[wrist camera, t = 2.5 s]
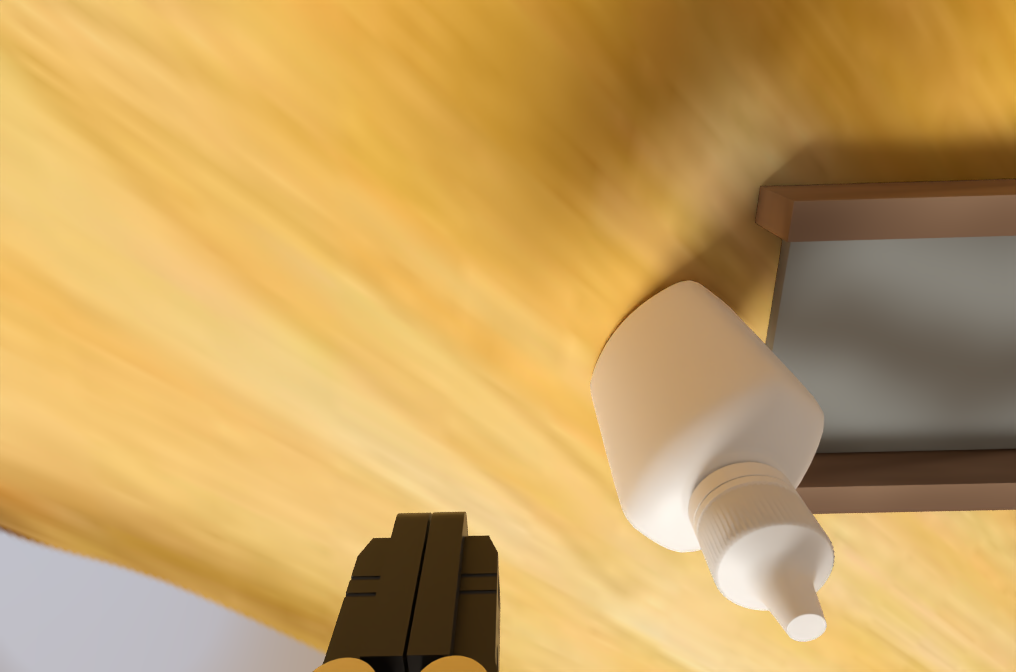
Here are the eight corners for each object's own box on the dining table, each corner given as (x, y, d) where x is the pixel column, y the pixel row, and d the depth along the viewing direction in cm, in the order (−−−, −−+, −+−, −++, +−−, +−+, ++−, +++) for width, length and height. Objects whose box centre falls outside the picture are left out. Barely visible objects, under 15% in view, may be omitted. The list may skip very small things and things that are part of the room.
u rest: (760, 186, 19) (794, 201, 17) (1203, 173, 19) (1298, 186, 17) (719, 473, 24) (742, 515, 22) (1076, 465, 24) (1136, 507, 21)
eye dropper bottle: (746, 367, 22) (985, 660, 11) (604, 420, 23) (692, 739, 12) (712, 264, 20) (952, 485, 9) (561, 326, 21) (617, 594, 10)
